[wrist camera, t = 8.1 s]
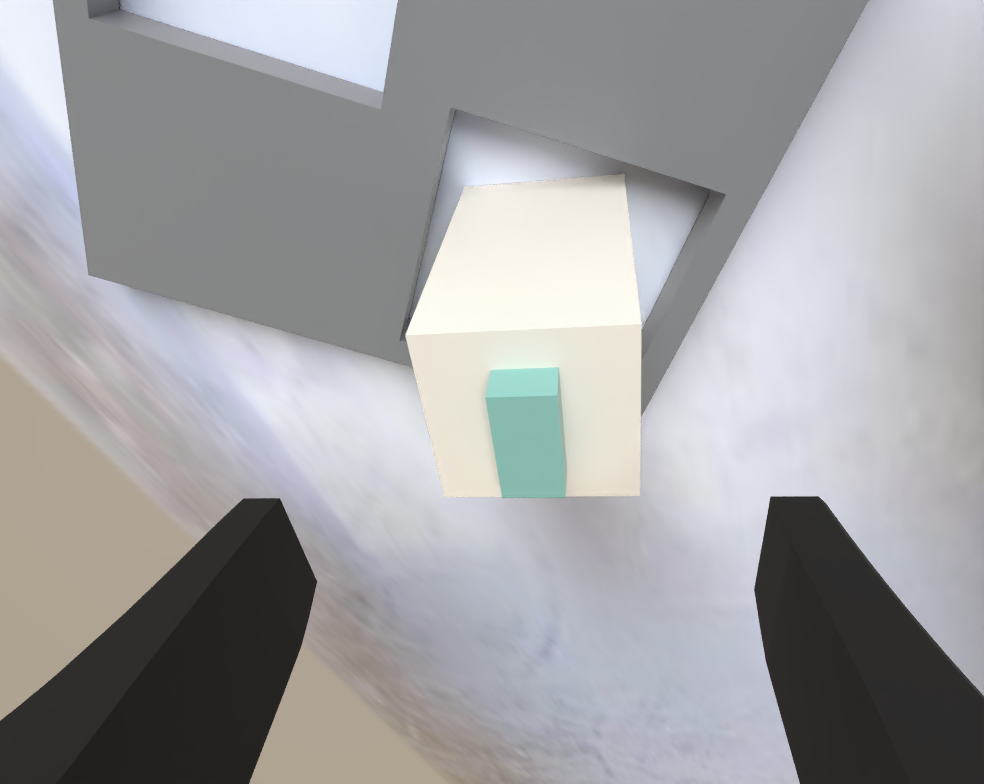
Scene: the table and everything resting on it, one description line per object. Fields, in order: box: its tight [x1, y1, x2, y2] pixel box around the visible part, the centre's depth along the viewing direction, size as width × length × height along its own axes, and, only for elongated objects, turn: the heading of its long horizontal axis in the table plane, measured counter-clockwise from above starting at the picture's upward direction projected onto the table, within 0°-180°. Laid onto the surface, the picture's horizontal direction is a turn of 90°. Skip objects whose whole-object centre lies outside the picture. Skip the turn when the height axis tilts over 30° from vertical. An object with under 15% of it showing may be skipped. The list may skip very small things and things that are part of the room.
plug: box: [405, 174, 642, 498], centre depth 15 cm, size 4×4×8 cm
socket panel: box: [53, 0, 868, 416], centre depth 15 cm, size 16×14×1 cm
